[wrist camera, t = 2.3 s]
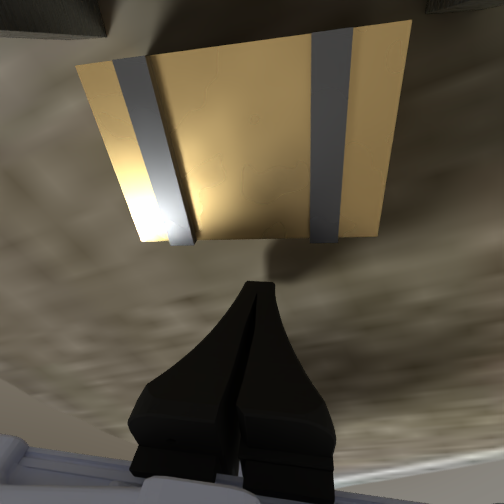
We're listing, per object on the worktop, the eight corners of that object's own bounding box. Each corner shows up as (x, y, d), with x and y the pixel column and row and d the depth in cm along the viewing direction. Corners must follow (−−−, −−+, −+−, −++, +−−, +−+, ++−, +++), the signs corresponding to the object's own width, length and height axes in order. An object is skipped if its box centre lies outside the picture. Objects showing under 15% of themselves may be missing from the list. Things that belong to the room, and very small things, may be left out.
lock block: (355, 184, 12) (379, 242, 8) (181, 193, 13) (137, 246, 9) (370, 30, 9) (417, 18, 5) (146, 60, 10) (66, 66, 7)
